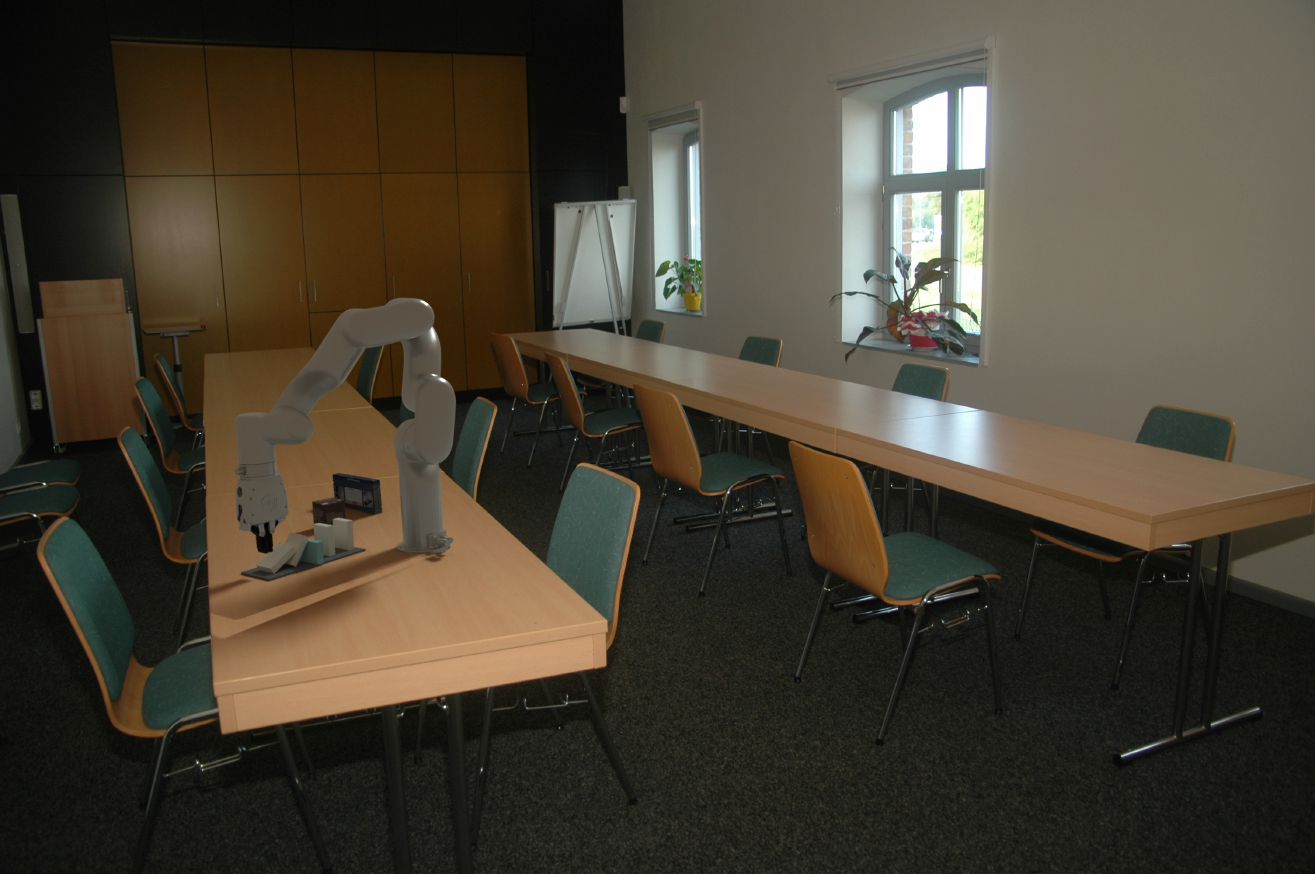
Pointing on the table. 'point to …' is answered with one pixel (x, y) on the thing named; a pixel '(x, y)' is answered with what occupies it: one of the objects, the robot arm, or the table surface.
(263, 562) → the domino
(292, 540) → the domino
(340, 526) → the domino
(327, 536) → the domino
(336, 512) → the box
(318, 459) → the table surface
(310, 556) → the teal domino
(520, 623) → the table surface
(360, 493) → the vhs cassette tape
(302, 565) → the mat
